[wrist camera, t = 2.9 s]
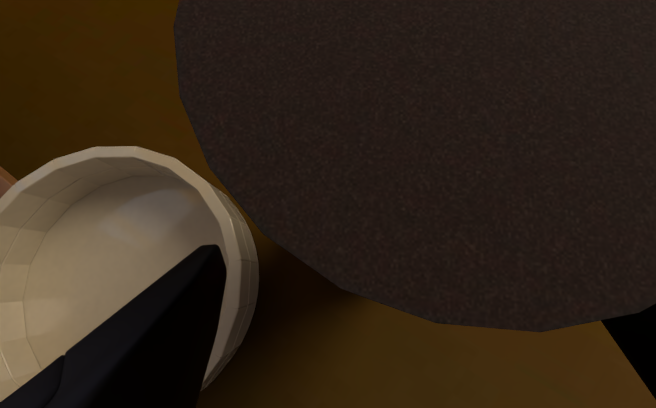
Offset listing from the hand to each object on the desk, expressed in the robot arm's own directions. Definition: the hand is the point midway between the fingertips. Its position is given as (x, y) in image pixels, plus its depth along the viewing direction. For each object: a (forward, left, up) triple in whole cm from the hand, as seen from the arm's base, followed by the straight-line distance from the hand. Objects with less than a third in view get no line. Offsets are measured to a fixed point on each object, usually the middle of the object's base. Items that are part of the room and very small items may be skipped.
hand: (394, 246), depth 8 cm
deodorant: (+1, +1, -10) cm, 10 cm away
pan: (-8, +9, -9) cm, 16 cm away
